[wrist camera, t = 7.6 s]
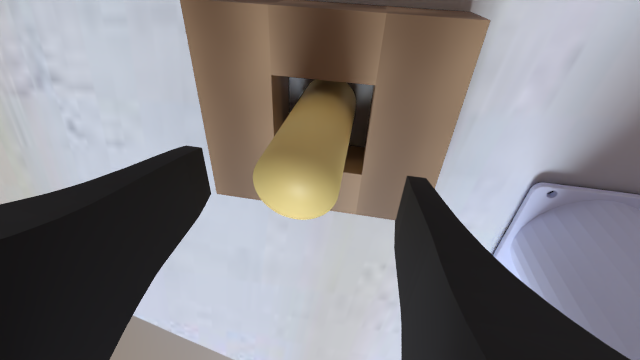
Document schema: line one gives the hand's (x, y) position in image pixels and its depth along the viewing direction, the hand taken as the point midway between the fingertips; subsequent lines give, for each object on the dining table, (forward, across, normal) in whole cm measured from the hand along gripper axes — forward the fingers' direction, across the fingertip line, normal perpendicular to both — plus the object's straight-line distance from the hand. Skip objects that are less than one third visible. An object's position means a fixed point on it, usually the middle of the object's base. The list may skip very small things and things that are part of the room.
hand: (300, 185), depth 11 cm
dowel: (+8, 0, 0) cm, 8 cm away
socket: (+8, 0, 0) cm, 8 cm away
